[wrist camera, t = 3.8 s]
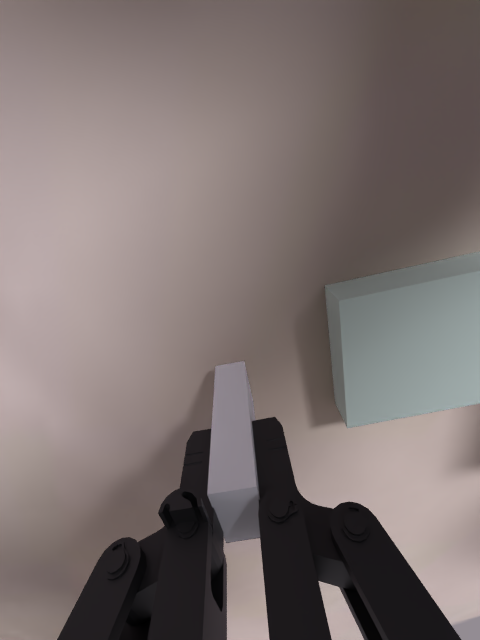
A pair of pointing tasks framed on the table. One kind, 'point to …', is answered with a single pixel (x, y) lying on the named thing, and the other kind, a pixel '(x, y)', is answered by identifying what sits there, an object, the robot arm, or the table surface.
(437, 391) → the board
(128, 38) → the table surface
